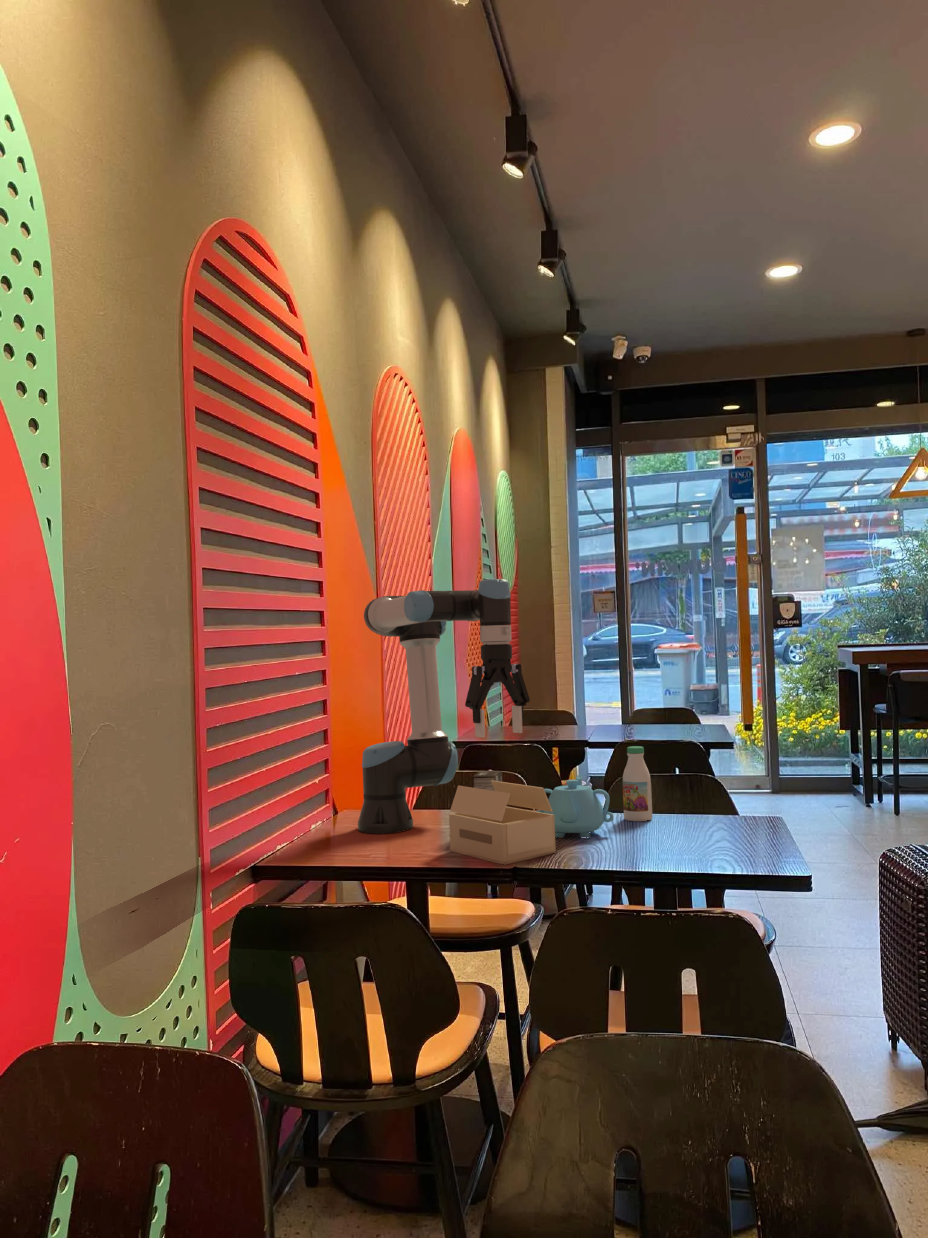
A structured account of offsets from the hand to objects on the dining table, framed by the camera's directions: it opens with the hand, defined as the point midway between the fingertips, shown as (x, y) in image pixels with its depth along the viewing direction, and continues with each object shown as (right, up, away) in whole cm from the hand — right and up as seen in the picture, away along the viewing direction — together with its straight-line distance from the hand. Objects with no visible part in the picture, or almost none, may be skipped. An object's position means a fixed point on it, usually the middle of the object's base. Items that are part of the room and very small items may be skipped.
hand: (499, 735), depth 226 cm
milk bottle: (+40, -28, +34) cm, 59 cm away
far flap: (+7, -18, +4) cm, 20 cm away
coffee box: (-2, -29, +20) cm, 35 cm away
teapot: (+20, -28, +17) cm, 38 cm away
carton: (+1, -28, -1) cm, 28 cm away
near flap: (-6, -19, -6) cm, 20 cm away
